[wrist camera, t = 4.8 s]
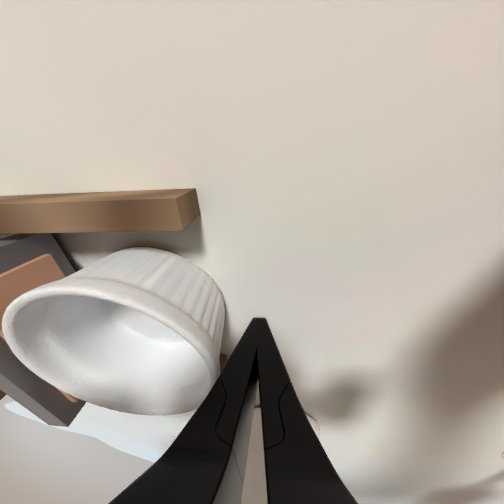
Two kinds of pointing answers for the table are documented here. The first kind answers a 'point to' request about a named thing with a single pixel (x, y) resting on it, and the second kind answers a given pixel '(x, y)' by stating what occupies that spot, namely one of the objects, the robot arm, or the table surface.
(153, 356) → the ramekin
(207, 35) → the table surface
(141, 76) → the table surface
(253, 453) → the jar
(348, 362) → the table surface
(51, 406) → the block
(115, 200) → the wooden u-shaped frame
